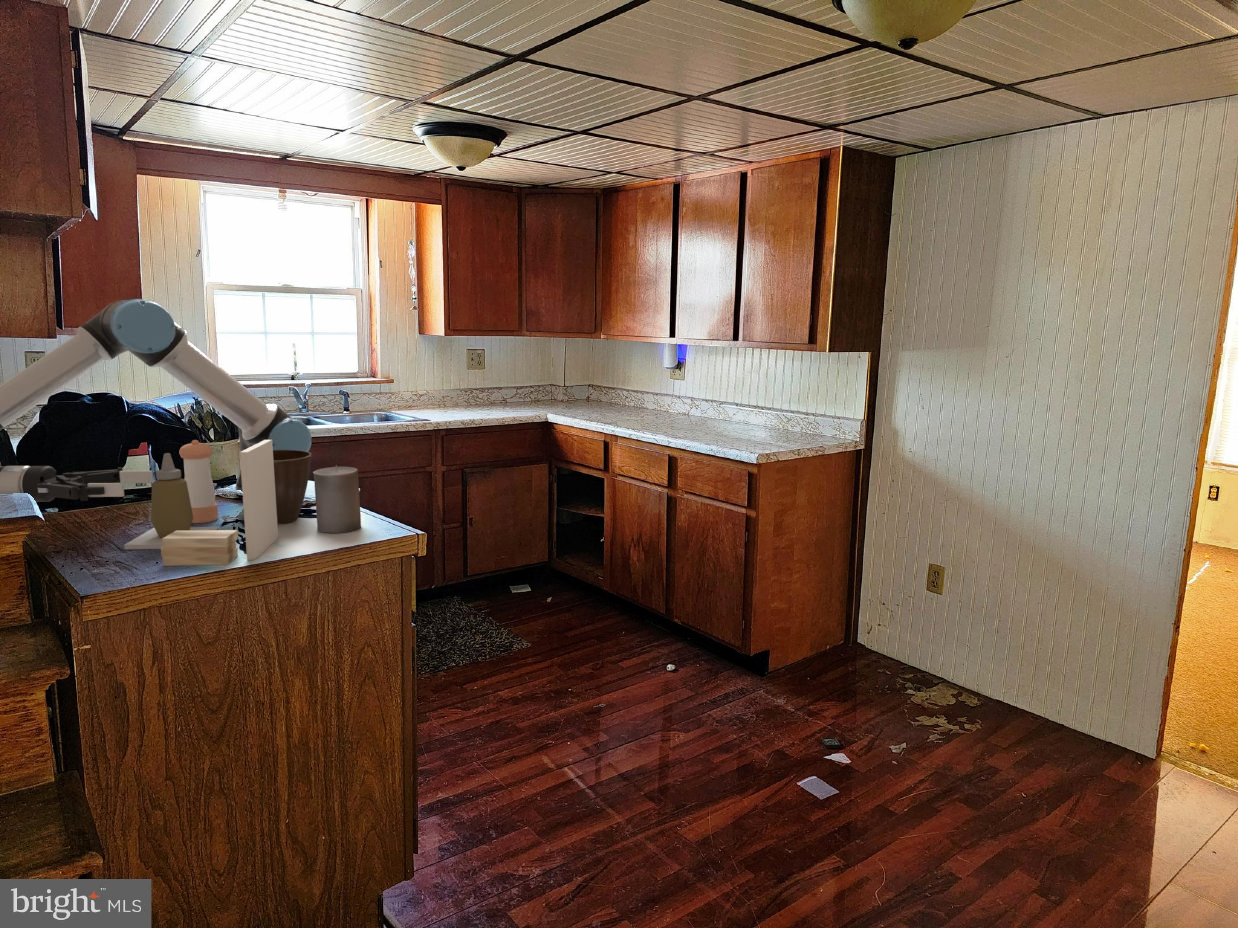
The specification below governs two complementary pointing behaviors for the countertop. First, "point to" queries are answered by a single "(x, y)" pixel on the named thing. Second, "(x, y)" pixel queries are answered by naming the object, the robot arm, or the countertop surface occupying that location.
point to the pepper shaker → (199, 481)
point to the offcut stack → (199, 547)
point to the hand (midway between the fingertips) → (138, 483)
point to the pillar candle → (337, 499)
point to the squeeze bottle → (170, 500)
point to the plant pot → (290, 482)
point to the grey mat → (154, 539)
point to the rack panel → (259, 498)
